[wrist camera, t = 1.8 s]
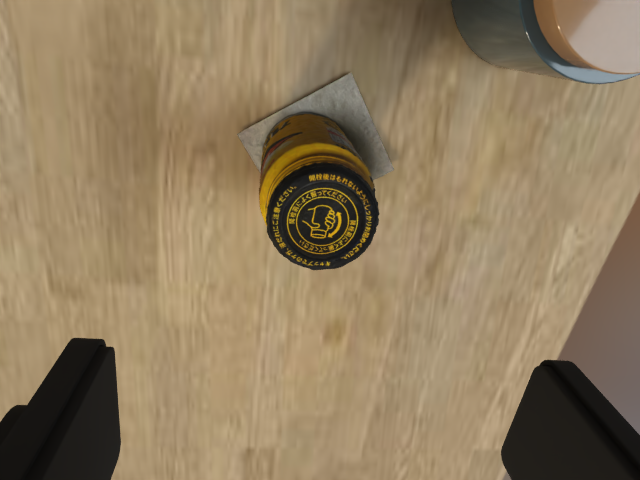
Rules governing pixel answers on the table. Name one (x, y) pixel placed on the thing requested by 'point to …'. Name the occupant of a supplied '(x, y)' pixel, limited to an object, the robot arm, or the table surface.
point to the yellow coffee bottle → (319, 175)
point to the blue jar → (555, 36)
